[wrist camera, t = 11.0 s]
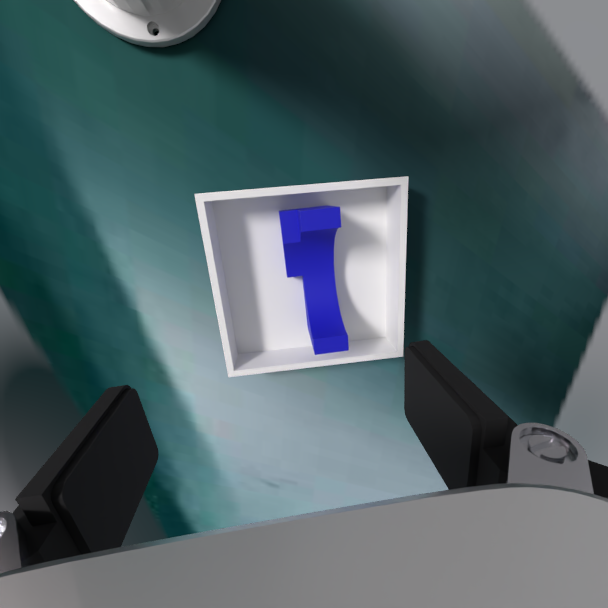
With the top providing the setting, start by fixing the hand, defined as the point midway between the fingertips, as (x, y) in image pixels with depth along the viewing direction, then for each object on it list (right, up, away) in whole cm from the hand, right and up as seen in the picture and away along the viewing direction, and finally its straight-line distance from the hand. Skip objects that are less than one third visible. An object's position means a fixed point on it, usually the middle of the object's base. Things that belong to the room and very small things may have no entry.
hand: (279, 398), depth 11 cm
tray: (+1, +6, +20) cm, 21 cm away
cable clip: (+1, +7, +20) cm, 21 cm away
